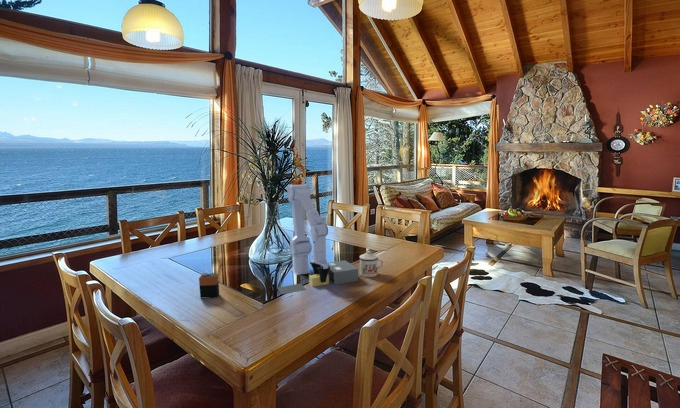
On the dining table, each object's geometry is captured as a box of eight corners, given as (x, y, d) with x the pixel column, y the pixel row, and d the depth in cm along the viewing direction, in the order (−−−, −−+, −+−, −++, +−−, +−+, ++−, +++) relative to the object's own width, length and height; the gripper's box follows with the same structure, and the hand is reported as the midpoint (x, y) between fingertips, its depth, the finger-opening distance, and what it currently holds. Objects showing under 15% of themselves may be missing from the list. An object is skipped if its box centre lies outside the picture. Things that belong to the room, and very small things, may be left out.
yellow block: (309, 284, 157) (309, 275, 156) (325, 282, 160) (325, 272, 159) (312, 288, 153) (312, 278, 152) (328, 284, 156) (328, 275, 156)
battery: (203, 294, 147) (201, 272, 145) (219, 293, 147) (218, 271, 146) (200, 298, 142) (198, 275, 141) (217, 298, 143) (215, 274, 142)
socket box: (322, 275, 168) (322, 263, 167) (345, 271, 173) (345, 259, 172) (334, 285, 155) (334, 272, 155) (358, 280, 160) (358, 268, 159)
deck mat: (276, 288, 152) (276, 287, 152) (300, 284, 157) (300, 283, 157) (281, 295, 145) (281, 294, 145) (306, 290, 150) (306, 289, 150)
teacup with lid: (362, 278, 163) (362, 254, 162) (357, 272, 172) (357, 249, 170) (386, 276, 166) (386, 252, 164) (379, 270, 175) (380, 247, 173)
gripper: (305, 247, 159) (306, 275, 161) (317, 255, 146) (317, 286, 148) (320, 245, 162) (320, 273, 164) (332, 253, 149) (332, 283, 151)
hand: (320, 279), depth 156 cm, fingers open, 7 cm apart
